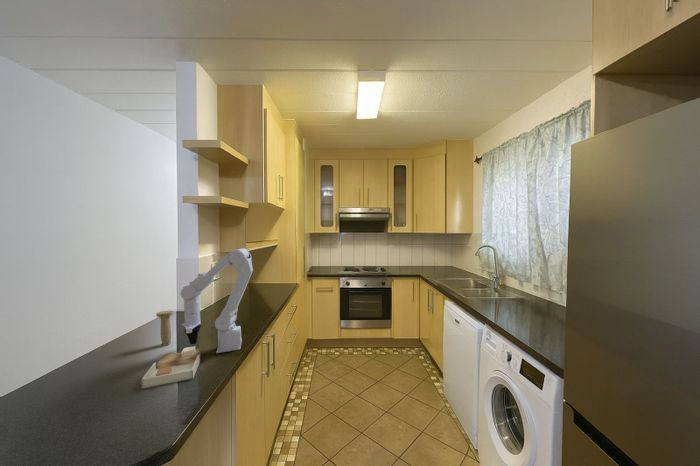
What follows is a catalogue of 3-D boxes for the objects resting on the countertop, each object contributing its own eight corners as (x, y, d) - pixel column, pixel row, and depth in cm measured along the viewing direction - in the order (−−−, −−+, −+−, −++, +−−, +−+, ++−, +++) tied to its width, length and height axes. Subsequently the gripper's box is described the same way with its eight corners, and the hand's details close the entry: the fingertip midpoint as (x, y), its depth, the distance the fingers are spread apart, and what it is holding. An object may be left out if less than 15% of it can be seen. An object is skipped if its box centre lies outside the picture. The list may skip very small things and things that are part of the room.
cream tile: (195, 351, 106) (195, 346, 106) (193, 355, 103) (193, 350, 103) (184, 353, 105) (184, 348, 105) (181, 357, 101) (181, 352, 101)
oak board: (200, 354, 108) (200, 348, 108) (197, 362, 102) (196, 356, 102) (163, 361, 104) (163, 355, 104) (157, 369, 97) (157, 363, 97)
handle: (171, 346, 118) (169, 313, 117) (155, 347, 117) (154, 314, 116) (176, 341, 122) (175, 310, 122) (161, 342, 121) (160, 311, 121)
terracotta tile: (169, 371, 91) (169, 377, 92) (171, 366, 95) (171, 371, 95) (155, 374, 90) (155, 380, 90) (158, 368, 93) (158, 374, 93)
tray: (200, 362, 102) (199, 354, 102) (193, 378, 91) (192, 370, 91) (154, 370, 97) (154, 362, 97) (141, 388, 86) (140, 380, 86)
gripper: (185, 308, 117) (187, 338, 118) (176, 319, 104) (178, 352, 104) (203, 306, 120) (204, 336, 120) (196, 316, 106) (198, 349, 106)
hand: (193, 343), depth 112 cm, fingers closed
